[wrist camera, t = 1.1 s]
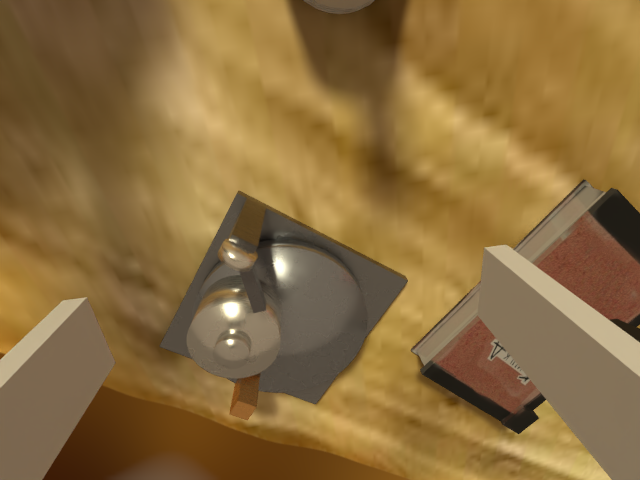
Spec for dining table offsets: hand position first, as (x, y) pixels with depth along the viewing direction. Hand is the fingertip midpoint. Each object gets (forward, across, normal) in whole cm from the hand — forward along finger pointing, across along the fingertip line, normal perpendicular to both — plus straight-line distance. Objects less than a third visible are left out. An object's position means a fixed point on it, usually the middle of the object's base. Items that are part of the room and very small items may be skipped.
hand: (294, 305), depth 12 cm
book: (+24, +26, -20) cm, 41 cm away
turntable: (+22, -3, -16) cm, 27 cm away
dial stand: (+22, -4, -6) cm, 23 cm away
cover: (+20, -7, -13) cm, 25 cm away
